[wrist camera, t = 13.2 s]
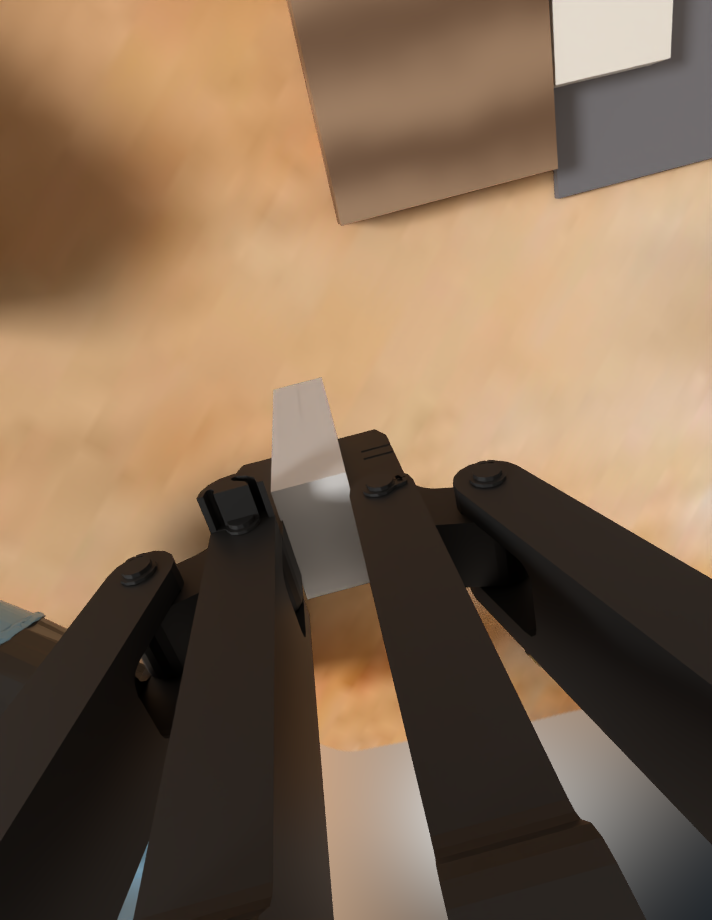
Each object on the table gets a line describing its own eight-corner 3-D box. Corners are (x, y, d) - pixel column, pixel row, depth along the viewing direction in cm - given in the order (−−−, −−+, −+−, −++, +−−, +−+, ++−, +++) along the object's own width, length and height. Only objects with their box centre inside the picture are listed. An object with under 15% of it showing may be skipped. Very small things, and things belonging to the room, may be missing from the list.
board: (538, 170, 37) (558, 168, 34) (337, 223, 37) (341, 225, 34) (512, -208, 29) (535, -248, 26) (254, -139, 29) (251, -172, 26)
